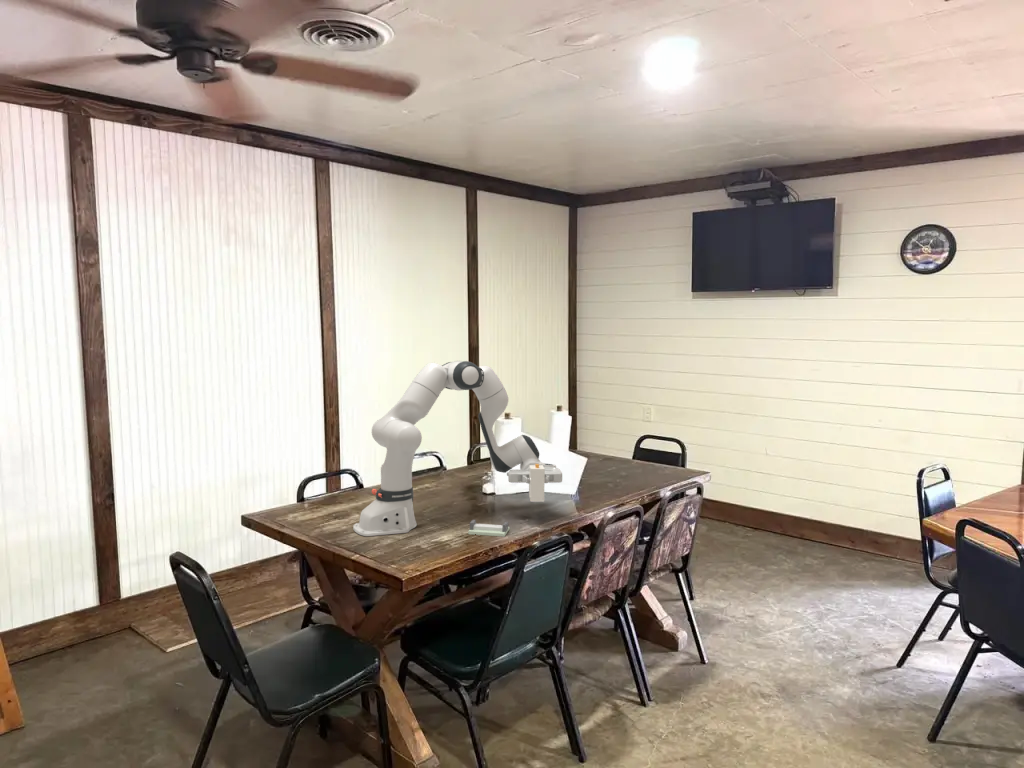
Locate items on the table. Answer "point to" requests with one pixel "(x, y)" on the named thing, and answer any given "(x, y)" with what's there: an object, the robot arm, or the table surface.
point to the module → (536, 483)
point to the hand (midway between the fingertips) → (536, 481)
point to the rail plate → (488, 529)
